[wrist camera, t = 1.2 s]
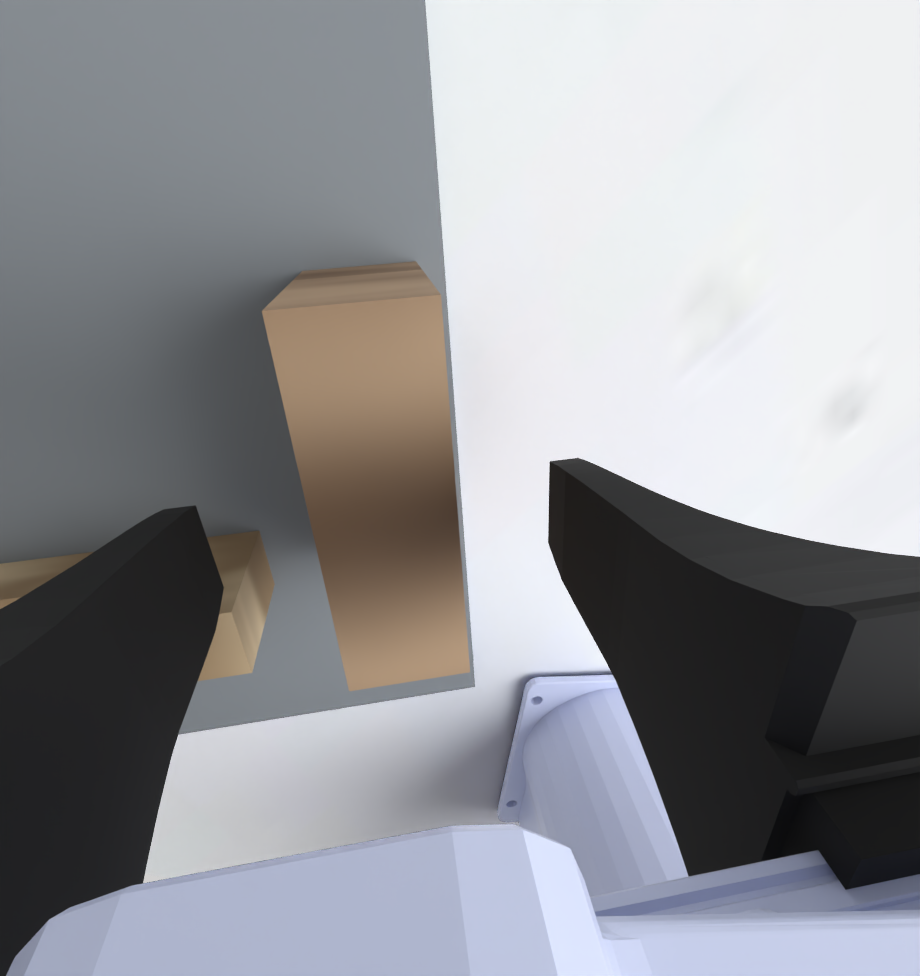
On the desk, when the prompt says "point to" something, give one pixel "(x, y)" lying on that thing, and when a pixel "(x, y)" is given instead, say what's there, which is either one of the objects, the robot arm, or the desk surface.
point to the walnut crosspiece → (376, 464)
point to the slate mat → (198, 279)
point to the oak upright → (240, 604)
